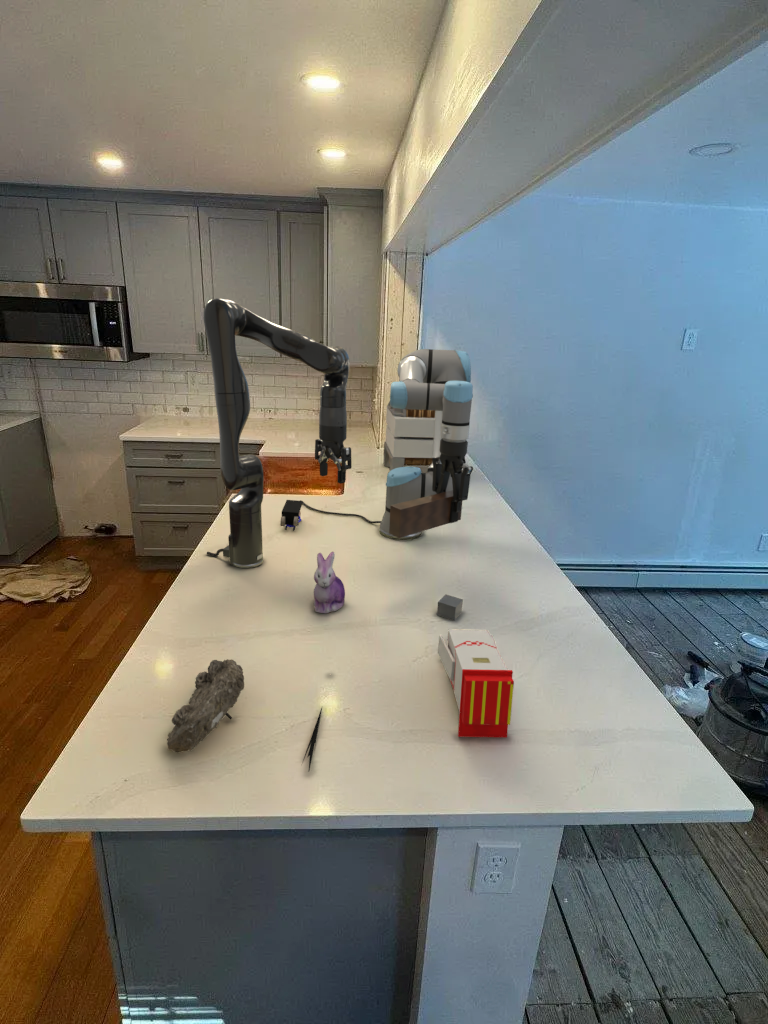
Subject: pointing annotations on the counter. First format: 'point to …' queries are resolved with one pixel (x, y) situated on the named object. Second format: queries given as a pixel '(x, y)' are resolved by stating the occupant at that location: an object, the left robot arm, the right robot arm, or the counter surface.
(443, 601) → the slate block
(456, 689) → the toy
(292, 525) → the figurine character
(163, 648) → the counter surface
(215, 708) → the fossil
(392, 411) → the white slatted crate
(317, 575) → the figurine
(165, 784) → the counter surface
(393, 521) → the walnut bar
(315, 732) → the feather
